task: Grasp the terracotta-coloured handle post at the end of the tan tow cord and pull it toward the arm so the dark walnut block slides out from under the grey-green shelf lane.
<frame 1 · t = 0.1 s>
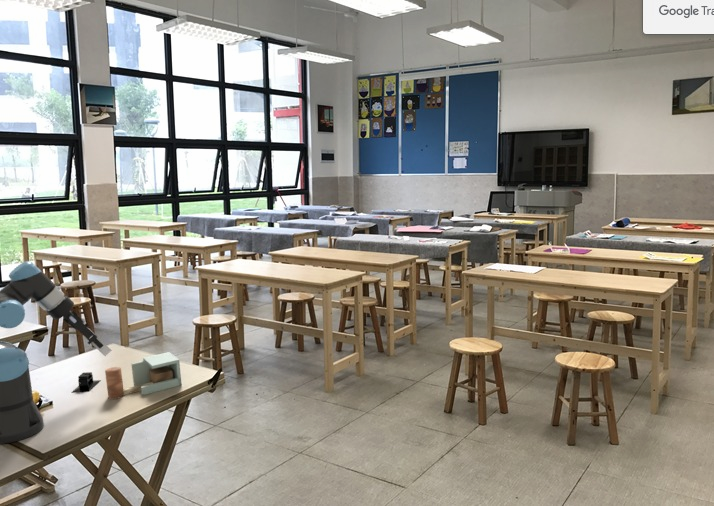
hand: (103, 348, 197), 15 cm above the table, fingers open, 13 cm apart
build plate: (86, 388, 206), on the table
shelf lane: (157, 385, 204), on the table
towed block: (162, 384, 204), on the table
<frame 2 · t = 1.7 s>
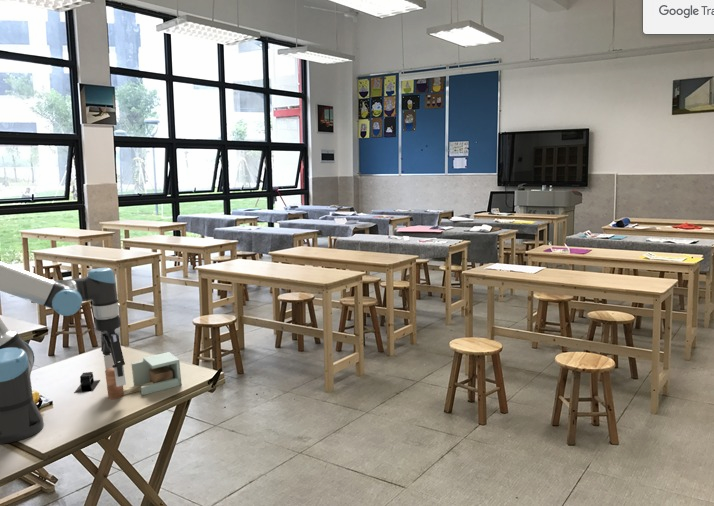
hand: (115, 379, 195), 6 cm above the table, fingers open, 13 cm apart
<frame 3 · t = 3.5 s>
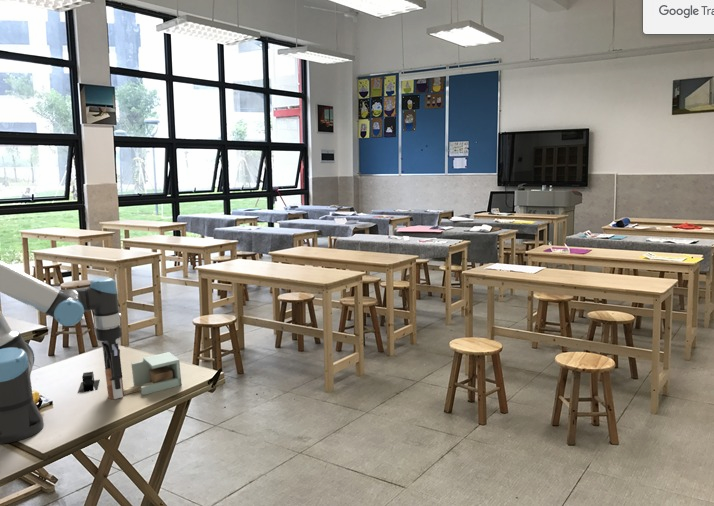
hand: (116, 395, 196), 0 cm above the table, fingers closed on towed block, 5 cm apart
towed block: (162, 384, 204), on the table, touching gripper
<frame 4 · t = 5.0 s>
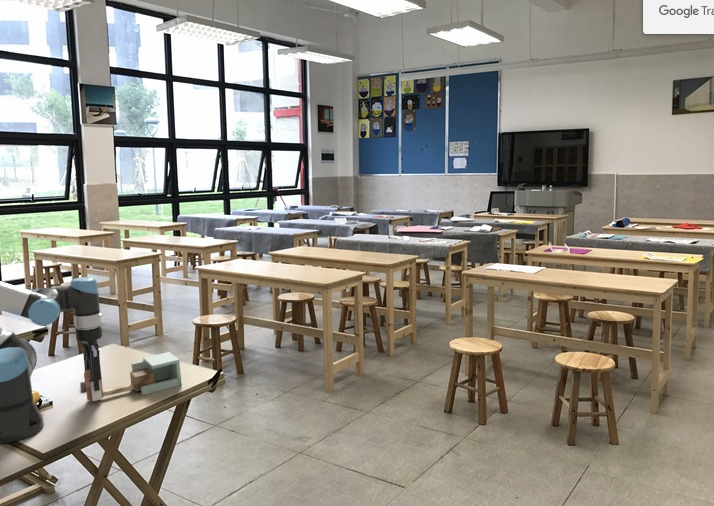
hand: (95, 396, 192), 1 cm above the table, fingers closed on towed block, 5 cm apart
towed block: (142, 386, 201), point 1 cm above the table, touching gripper
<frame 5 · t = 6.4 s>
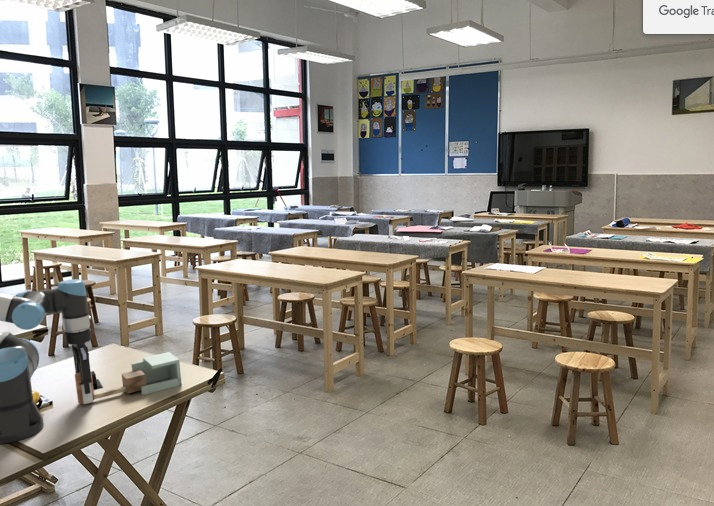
hand: (86, 399, 191), 1 cm above the table, fingers closed on towed block, 5 cm apart
towed block: (134, 388, 199), point 1 cm above the table, touching gripper
when the fingers open (0 cm above the table, at t = 6.8 s): towed block stays where it is, on the table.
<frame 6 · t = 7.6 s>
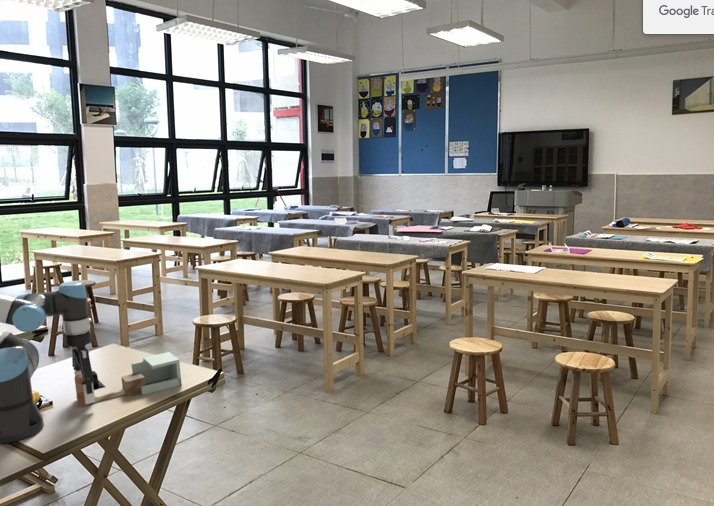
hand: (85, 396, 191), 2 cm above the table, fingers open, 13 cm apart
towed block: (134, 391, 199), on the table
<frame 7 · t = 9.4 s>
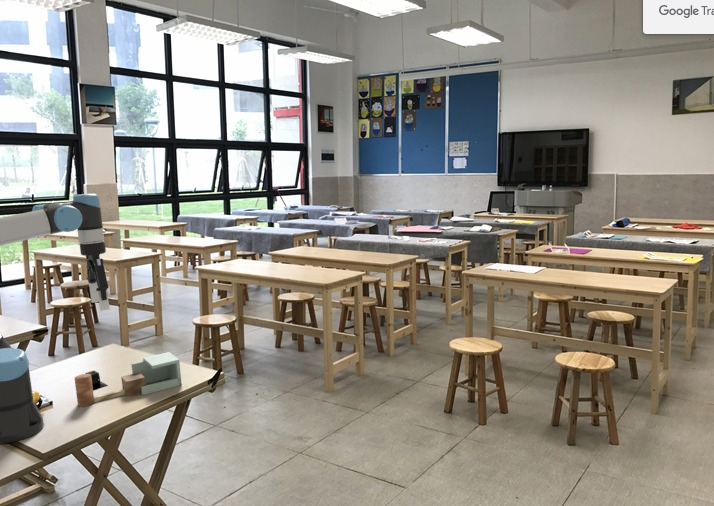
hand: (100, 305, 197), 29 cm above the table, fingers open, 13 cm apart
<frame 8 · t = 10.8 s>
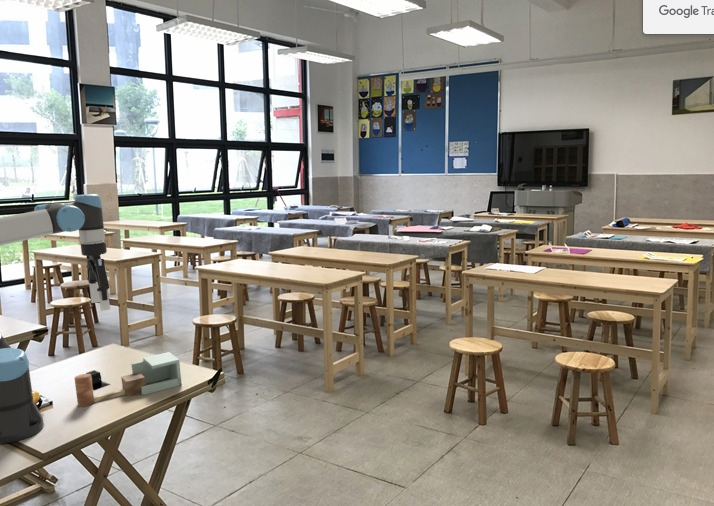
hand: (100, 306, 198), 29 cm above the table, fingers open, 13 cm apart
at the end: towed block inside the target area (2.6 cm from its centre), on the table; the gripper is holding nothing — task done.
